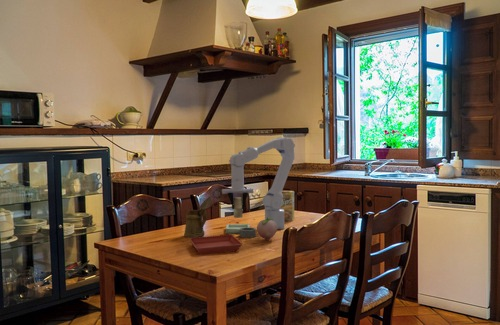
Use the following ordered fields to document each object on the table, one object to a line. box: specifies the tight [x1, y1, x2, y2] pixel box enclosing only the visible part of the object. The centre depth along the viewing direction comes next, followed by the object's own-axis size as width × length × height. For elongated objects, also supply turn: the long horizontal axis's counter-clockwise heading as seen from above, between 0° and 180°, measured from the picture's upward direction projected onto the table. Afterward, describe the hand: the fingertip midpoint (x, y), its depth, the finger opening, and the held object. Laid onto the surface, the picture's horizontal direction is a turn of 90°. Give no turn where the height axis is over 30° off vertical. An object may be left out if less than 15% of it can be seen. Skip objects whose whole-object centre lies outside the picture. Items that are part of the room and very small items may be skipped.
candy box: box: [280, 190, 295, 222], centre depth 240 cm, size 9×4×15 cm, turn 70°
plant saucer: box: [189, 234, 243, 255], centre depth 181 cm, size 18×18×3 cm
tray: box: [225, 223, 251, 235], centre depth 213 cm, size 11×12×2 cm
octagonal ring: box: [239, 226, 257, 239], centre depth 202 cm, size 7×7×3 cm
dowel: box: [233, 196, 243, 219], centre depth 212 cm, size 4×4×9 cm
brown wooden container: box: [183, 196, 212, 239], centre depth 202 cm, size 9×14×18 cm, turn 61°
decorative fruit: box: [256, 217, 278, 241], centre depth 193 cm, size 9×8×10 cm
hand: (238, 208), depth 213 cm, fingers closed on dowel, 4 cm apart
